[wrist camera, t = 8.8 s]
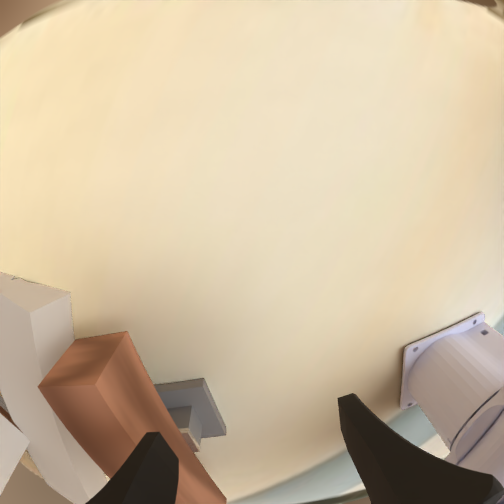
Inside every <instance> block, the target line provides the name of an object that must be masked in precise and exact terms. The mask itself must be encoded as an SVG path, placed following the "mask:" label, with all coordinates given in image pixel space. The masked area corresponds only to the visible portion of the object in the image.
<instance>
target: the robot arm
mask: <svg viewBox="0 0 504 504" xmlns="http://www.w3.org/2000/svg"><path fill="white" fill-rule="evenodd" d="M484 319H485V314H484V313H483V312H480V313H478V314H476V315H474V316H472V317H470V318H468V319H466V320H464V321H462V322H460V323H458V324H456V325H453V326H451V327H449V328H447V329H445V330H443V331H440V332H438V333H436V334H434V335H431V336H429V337H427V338H424V339H422V340H419V341H417V342H415V343H412V344H410V345H408V346H406V347H405V349H404V356H403V374H402V387H401V398H400V408H401V410H405V409H407V408H410V407H412V406H414V405H416V404H418V405H419V406H420V408H421V409H422V411H423V412H424V413H425V415H426V416H427V418H428V419H429V421H430V422H431V424H432V425H433V427H434V428H435V429H436V431H437V432H438V434H439V435H440V437H441V438H442V440H443V441H444V443H445V444H446V446H447V447H448V449H449V450H450V453H449V455H448V456H447V457H446V458H445V460H446V461H445V460H442V459H440V458H438V457H435V456H433V455H431V454H429V453H427V452H426V451H424V450H422V449H420V448H419V447H417V446H415V445H413V444H412V443H410V442H409V441H407V440H406V439H404V438H403V437H402V436H400V435H399V434H397V433H396V432H395V431H393V430H392V429H391V428H390V427H388V426H387V425H386V424H385V423H384V422H383V421H381V420H380V419H379V418H378V417H377V416H376V415H375V414H374V413H373V412H372V411H370V410H369V409H368V408H367V407H366V406H365V405H364V403H363V402H362V401H361V400H360V399H359V398H358V397H357V396H356V394H353V393H352V394H349V395H346V396H343V397H340V398H338V406H339V415H340V425H341V431H342V434H343V437H344V440H345V443H346V446H347V449H348V452H349V454H350V456H351V458H352V460H353V462H354V465H355V467H356V469H357V471H358V473H359V475H360V477H361V479H362V482H363V484H364V486H365V488H366V490H367V493H368V495H369V497H370V501H371V504H504V336H502V335H501V334H500V333H498V332H497V331H496V330H494V329H493V328H492V327H490V326H489V325H488V324H486V323H485V322H484ZM415 347H416V348H415ZM414 348H415V349H414ZM178 481H179V458H178V457H177V456H176V454H175V453H174V452H173V450H172V449H171V448H170V446H169V445H168V443H167V442H166V440H165V439H164V438H163V436H162V435H161V433H160V432H146V434H145V435H144V436H143V438H142V439H141V440H140V442H139V443H138V444H137V446H136V447H135V449H134V450H133V451H132V453H131V454H130V455H129V457H128V458H127V459H126V461H125V462H124V463H123V465H122V466H121V467H120V469H119V470H118V471H117V472H116V473H115V475H114V476H113V477H112V478H111V479H110V480H109V482H108V483H107V484H106V485H105V486H104V487H103V488H102V489H101V490H100V491H99V492H98V493H97V494H96V495H95V496H94V497H93V498H91V499H90V500H89V501H88V502H86V503H85V504H175V502H176V495H177V488H178Z"/></svg>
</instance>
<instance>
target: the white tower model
mask: <svg viewBox="0 0 504 504" xmlns="http://www.w3.org/2000/svg"><path fill="white" fill-rule="evenodd" d="M30 442H31V441H30V440H29V439H28V438H27V437H26V436H25V435H24V434H23V432H22V431H21V430H20V429H19V428H18V427H17V425H16V424H15V423H14V422H13V420H12V418H11V416H10V413H9V411H8V409H7V406H6V404H5V401H4V399H3V398H2V397H1V396H0V495H1V493H2V492H3V490H4V487H5V486H6V484H7V482H8V480H9V478H10V476H11V475H12V473H13V471H14V469H15V467H16V466H17V464H18V462H19V460H20V459H21V457H22V455H23V453H24V452H25V450H26V448H27V447H28V445H29V443H30Z"/></svg>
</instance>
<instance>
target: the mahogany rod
mask: <svg viewBox="0 0 504 504" xmlns="http://www.w3.org/2000/svg"><path fill="white" fill-rule="evenodd" d="M37 387H38V388H39V390H40V392H41V393H42V395H43V396H44V398H45V399H46V401H47V402H48V404H49V405H50V406H51V408H52V409H53V411H54V412H55V414H56V415H57V416H58V418H59V419H60V420H61V422H62V423H63V424H64V426H65V427H66V428H67V430H68V431H69V432H70V434H71V435H72V436H73V437H74V439H75V440H76V441H77V442H78V443H79V445H80V446H81V447H82V448H83V449H84V451H85V452H86V453H87V454H88V455H89V456H90V457H91V459H92V460H93V461H94V462H95V463H96V464H97V465H98V466H99V467H100V468H101V470H102V471H103V472H104V473H105V474H106V475H107V476H108V477H109V478H110V479H111V478H112V477H113V476H114V475H115V473H116V472H117V471H118V470H119V469H120V467H121V466H122V465H123V463H124V462H125V461H126V459H127V458H128V457H129V455H130V454H131V453H132V451H133V450H134V449H135V447H136V446H137V444H138V443H139V442H140V440H141V439H142V438H143V436H144V435H145V434H146V432H160V433H161V435H162V436H163V438H164V439H165V440H166V442H167V443H168V445H169V446H170V448H171V449H172V450H173V452H174V453H175V454H176V456H177V457H178V458H179V481H178V488H177V495H176V502H175V504H226V497H225V496H224V495H223V494H222V492H221V491H220V490H219V488H218V487H217V486H216V484H215V483H214V482H213V480H212V479H211V477H210V476H209V475H208V473H207V472H206V470H205V469H204V468H203V466H202V465H201V463H200V462H199V460H198V459H197V457H196V456H195V454H194V453H193V451H192V450H191V448H190V447H189V445H188V444H187V442H186V440H185V439H184V437H183V436H182V434H181V432H180V431H179V429H178V428H177V426H176V424H175V423H174V421H173V419H172V417H171V416H170V414H169V412H168V411H167V409H166V407H165V405H164V404H163V402H162V400H161V398H160V396H159V394H158V393H157V391H156V389H155V387H154V385H153V383H152V381H151V379H150V377H149V376H148V374H147V372H146V370H145V368H144V366H143V364H142V362H141V360H140V357H139V355H138V353H137V351H136V349H135V347H134V345H133V343H132V340H131V338H130V336H129V334H128V332H127V331H125V332H119V333H113V334H108V335H102V336H95V337H89V338H83V339H76V340H75V341H74V342H73V343H72V344H71V345H70V346H69V348H68V349H67V350H66V351H65V353H64V354H63V355H62V356H61V357H60V359H59V360H58V361H57V362H56V364H55V365H54V366H53V367H52V369H51V370H50V371H49V372H48V374H47V375H46V376H45V377H44V379H43V380H42V381H41V383H40V384H39V385H38V386H37Z"/></svg>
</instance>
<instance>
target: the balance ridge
mask: <svg viewBox="0 0 504 504" xmlns="http://www.w3.org/2000/svg"><path fill="white" fill-rule="evenodd" d="M154 387H155V389H156V391H157V393H158V394H159V396H160V398H161V400H162V402H163V404H164V405H165V407H166V409H167V411H168V412H169V414H170V416H171V417H172V419H173V421H174V423H175V424H176V426H177V428H178V429H179V431H180V432H181V434H182V436H183V437H184V439H185V440H186V442H187V444H188V445H189V447H190V448H191V450H192V451H193V452H198V451H199V450H200V441H201V438H207V437H216V436H223V435H226V426H225V424H224V422H223V420H222V417H221V415H220V413H219V411H218V409H217V407H216V404H215V402H214V400H213V398H212V396H211V393H210V391H209V389H208V386H207V384H206V382H205V380H204V378H202V379H196V380H189V381H183V382H176V383H168V384H160V385H154Z"/></svg>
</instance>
